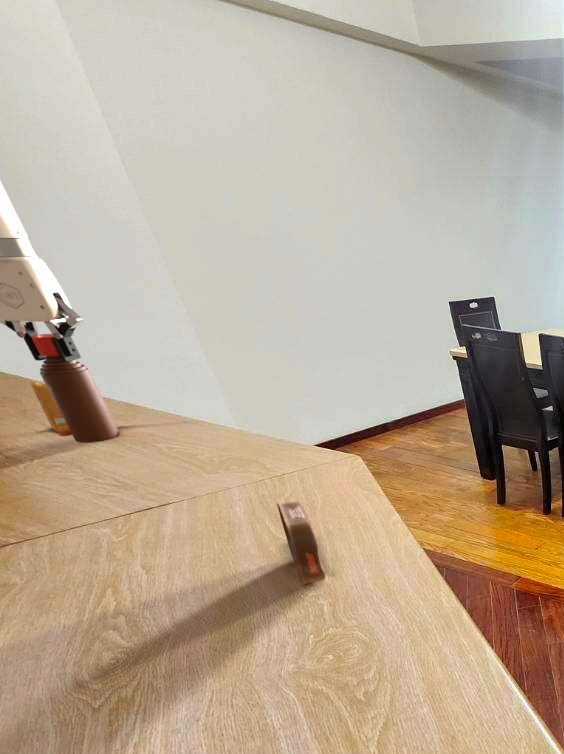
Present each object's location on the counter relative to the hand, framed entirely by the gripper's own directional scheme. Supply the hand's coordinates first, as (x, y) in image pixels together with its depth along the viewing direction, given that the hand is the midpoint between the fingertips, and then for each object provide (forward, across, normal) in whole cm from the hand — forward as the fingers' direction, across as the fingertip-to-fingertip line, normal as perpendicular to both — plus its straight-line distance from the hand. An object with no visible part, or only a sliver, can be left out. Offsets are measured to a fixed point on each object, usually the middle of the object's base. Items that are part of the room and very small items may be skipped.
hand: (58, 358), depth 110 cm
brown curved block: (+15, +66, -52) cm, 85 cm away
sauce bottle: (+15, 0, 0) cm, 15 cm away
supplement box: (+15, -7, +2) cm, 17 cm away
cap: (-1, 0, 0) cm, 1 cm away
